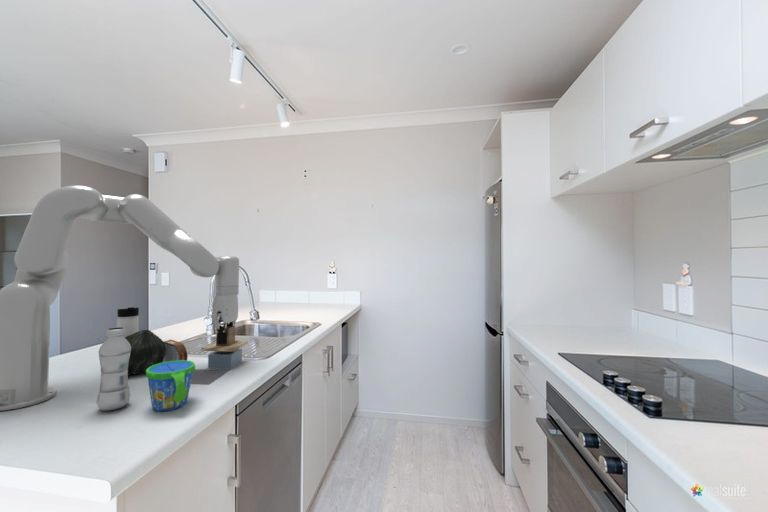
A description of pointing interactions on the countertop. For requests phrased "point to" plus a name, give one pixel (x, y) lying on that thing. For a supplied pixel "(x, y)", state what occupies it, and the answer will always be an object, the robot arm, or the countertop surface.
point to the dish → (224, 359)
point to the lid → (230, 344)
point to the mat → (206, 376)
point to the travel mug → (128, 320)
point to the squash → (144, 351)
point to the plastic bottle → (114, 370)
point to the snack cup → (169, 384)
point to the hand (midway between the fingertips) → (225, 341)
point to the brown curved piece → (174, 351)
